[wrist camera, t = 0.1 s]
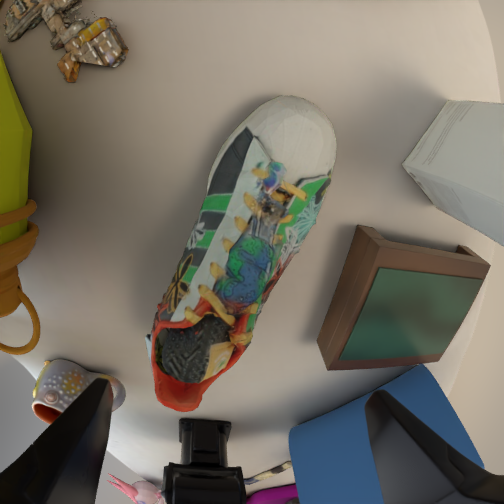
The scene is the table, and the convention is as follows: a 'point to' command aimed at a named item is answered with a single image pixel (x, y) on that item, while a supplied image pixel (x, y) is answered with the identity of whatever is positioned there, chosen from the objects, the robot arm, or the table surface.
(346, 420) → the block
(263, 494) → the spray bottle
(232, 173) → the sneaker
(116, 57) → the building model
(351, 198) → the table surface
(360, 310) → the framed green board
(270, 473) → the decorative blade
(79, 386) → the mug
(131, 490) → the toy
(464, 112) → the cosmetic box
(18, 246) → the plumb bob
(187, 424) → the robot arm
